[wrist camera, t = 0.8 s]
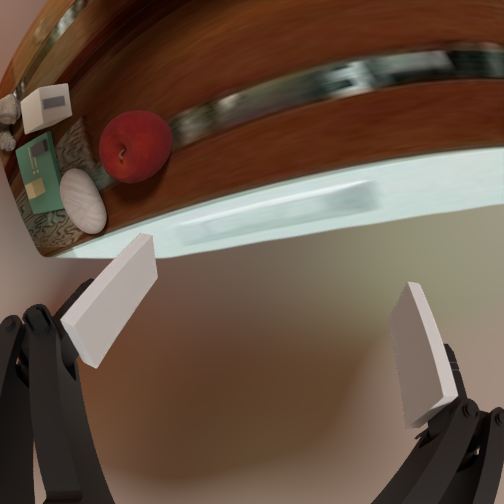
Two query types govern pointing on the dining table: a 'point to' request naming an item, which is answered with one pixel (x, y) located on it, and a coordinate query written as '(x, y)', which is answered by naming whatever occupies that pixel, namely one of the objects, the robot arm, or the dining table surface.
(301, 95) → the dining table surface
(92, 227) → the decorative stone
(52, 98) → the plug
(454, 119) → the dining table surface
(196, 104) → the dining table surface
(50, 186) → the board
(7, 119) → the seashell
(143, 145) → the apple
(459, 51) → the dining table surface
